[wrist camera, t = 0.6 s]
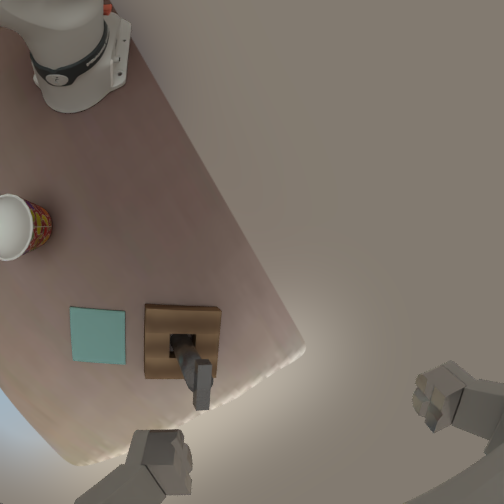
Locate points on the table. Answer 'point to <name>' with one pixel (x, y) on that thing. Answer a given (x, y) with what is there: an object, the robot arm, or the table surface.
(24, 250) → the smoothie
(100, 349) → the teal rubber mat
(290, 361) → the table surface
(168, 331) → the walnut key-slot block
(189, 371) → the gunmetal T-key
